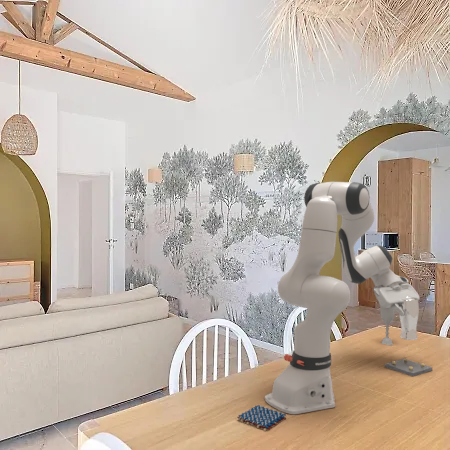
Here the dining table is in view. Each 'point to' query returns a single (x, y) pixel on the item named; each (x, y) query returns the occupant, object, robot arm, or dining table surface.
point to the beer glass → (409, 318)
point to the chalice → (387, 322)
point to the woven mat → (261, 417)
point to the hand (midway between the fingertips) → (410, 313)
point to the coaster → (408, 367)
